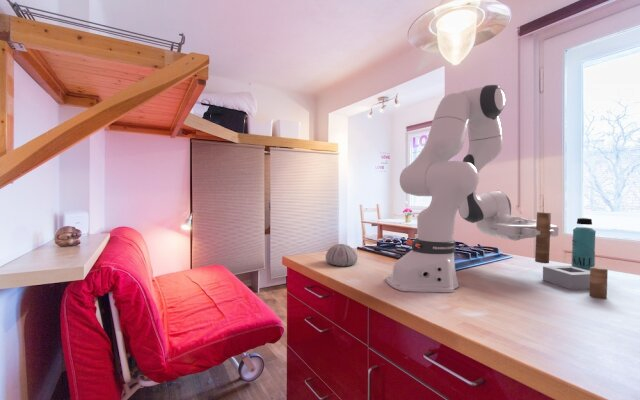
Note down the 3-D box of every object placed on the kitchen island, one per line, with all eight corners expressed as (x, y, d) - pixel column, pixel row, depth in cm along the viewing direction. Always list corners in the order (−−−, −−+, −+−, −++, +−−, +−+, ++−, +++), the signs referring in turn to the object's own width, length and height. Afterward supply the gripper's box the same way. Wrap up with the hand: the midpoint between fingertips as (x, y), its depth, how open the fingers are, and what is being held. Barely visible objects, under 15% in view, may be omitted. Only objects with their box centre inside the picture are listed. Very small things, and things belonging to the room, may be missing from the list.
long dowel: (541, 263, 94) (543, 212, 93) (532, 260, 97) (534, 212, 97) (551, 263, 94) (553, 213, 94) (542, 260, 98) (544, 212, 97)
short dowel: (599, 298, 82) (599, 270, 82) (585, 294, 86) (586, 267, 85) (610, 298, 83) (611, 269, 82) (596, 293, 86) (597, 266, 86)
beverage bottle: (585, 270, 111) (586, 217, 111) (600, 275, 105) (601, 219, 104) (566, 270, 112) (567, 217, 111) (580, 275, 105) (581, 218, 105)
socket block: (571, 289, 90) (571, 274, 90) (542, 279, 100) (543, 266, 100) (600, 288, 91) (600, 273, 91) (569, 278, 101) (569, 265, 101)
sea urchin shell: (347, 258, 131) (347, 240, 131) (364, 265, 119) (364, 245, 118) (319, 261, 125) (319, 243, 125) (335, 269, 113) (335, 248, 113)
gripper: (486, 218, 107) (516, 222, 93) (537, 219, 110) (573, 223, 96) (485, 236, 107) (515, 242, 94) (537, 236, 110) (573, 242, 96)
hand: (545, 232), depth 95 cm, fingers closed on long dowel, 4 cm apart
